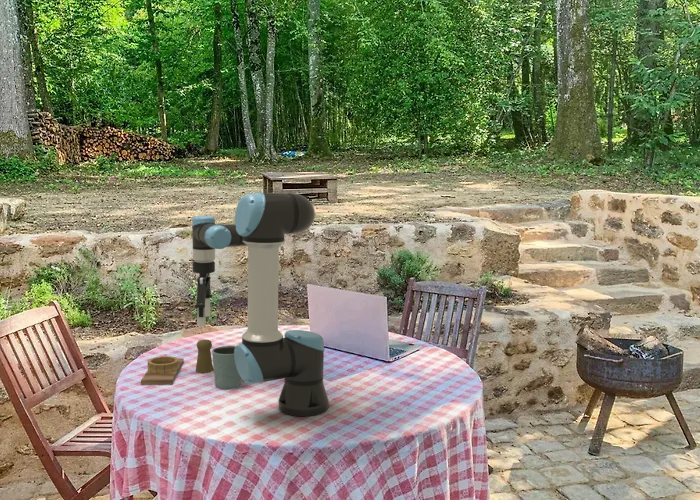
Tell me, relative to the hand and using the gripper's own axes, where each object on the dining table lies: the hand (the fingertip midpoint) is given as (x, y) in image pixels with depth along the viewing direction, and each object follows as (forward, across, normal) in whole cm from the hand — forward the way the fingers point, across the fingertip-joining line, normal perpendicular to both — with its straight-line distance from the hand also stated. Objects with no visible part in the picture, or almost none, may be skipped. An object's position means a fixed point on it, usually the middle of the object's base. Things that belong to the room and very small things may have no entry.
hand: (203, 321), depth 226 cm
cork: (+18, 0, 0) cm, 18 cm away
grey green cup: (+18, +16, +10) cm, 25 cm away
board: (+18, +3, -14) cm, 23 cm away
